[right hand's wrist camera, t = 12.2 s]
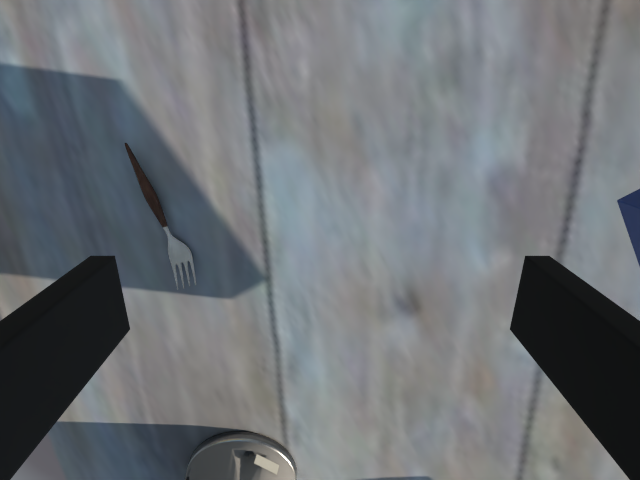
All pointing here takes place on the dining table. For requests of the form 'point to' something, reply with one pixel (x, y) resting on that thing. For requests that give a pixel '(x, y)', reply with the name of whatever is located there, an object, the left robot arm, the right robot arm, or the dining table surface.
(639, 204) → the bar
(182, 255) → the fork
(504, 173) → the dining table surface
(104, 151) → the dining table surface
